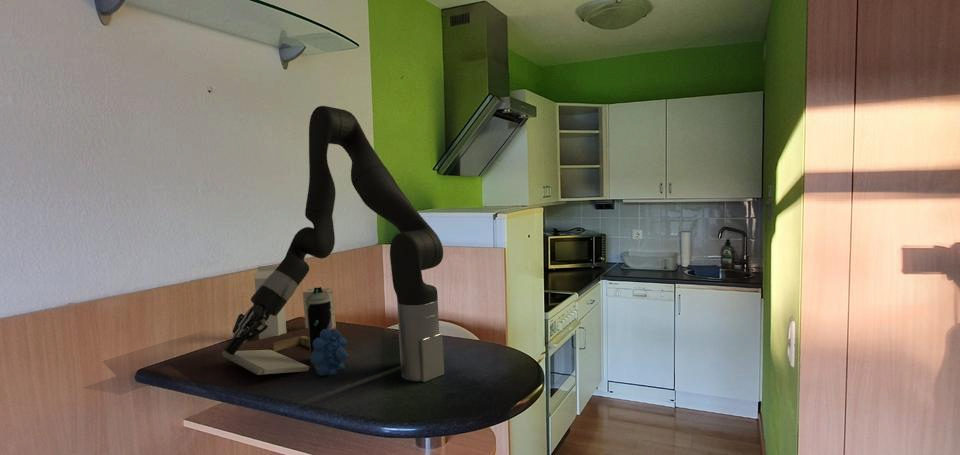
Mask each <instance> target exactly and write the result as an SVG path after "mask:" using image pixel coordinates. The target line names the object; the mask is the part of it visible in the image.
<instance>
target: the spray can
mask: <svg viewBox="0 0 960 455" xmlns="http://www.w3.org/2000/svg"><path fill="white" fill-rule="evenodd" d="M313 289H314V291H313V293H312V295H310V296H309V297H308V298H307V313H308V327H309V328H308V337H309V342H310V347H309V353H310V357H311V355H312V354H313V353H314V352H315V351H317V350H315V349H314V347H313V341H314V340H315V339H316V338H320V332H321V331H322V330H323V329H328V330H332V318H331V303H330V298H329V297H330V296H329V295H327V294H325V293H324V291H323V290H322V289H323V288H322V286H320V287H319V286H318V287H314V288H313ZM310 365H313V366H314V363H313V362H312V360H311V359H310Z"/></svg>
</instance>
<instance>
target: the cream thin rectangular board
mask: <svg viewBox="0 0 960 455" xmlns="http://www.w3.org/2000/svg"><path fill="white" fill-rule="evenodd" d="M221 357H224V358H225V359H227V360H229V361H231V362H233V363H235V364H236V365H238V366H240V367H242V368H244V369H245V370H247V371H250V372H251V373H253V374H255V375H257V376H260V375H269V374H271V375H273V374H285V373H286V374H287V373H297V372H299V373H300V372H308V371H309V370H310V366H309V365H307V364H304V363H302V362H300V361H297V360H295V359H293V358H290V357H288V356H286V355H284V354H281V353H279V352H277V351H272V349H260V350H259V349H258V350H257V349H256V350H255V349H254V350H252V349H251V350H237V351H236V352H235V354H234V355H231V354H229V353H227V352H226V351H224V350H223V351H222V353H221Z"/></svg>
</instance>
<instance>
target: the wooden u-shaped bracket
mask: <svg viewBox="0 0 960 455" xmlns="http://www.w3.org/2000/svg"><path fill="white" fill-rule="evenodd" d="M299 345H302V346H304V347H307V348H310V342H309V336H306V335H298V336H295V337H289V338H286V339H282V340H279V341H278V340H277V341H275V342H272V343H271V350H272V351H275V352H277V351H280V350H284V349H285V350H286V349H289V348H293V347H296V346H299ZM346 351H347V352H348V355H349V356H348V359H347V360H346V361H343V363H344V362H347V361H350V358H351V357H350V351H349V350H346ZM313 366H314V370H316V366H317V364H314V365H313Z"/></svg>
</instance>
